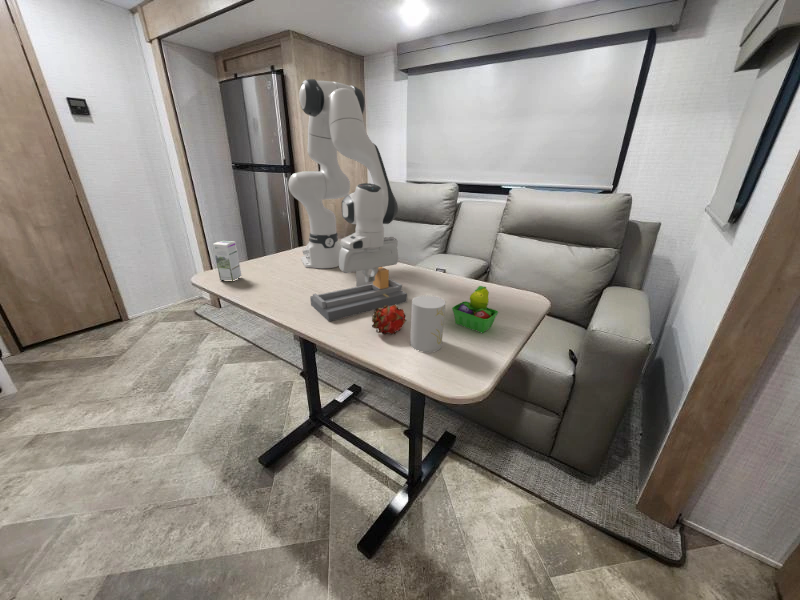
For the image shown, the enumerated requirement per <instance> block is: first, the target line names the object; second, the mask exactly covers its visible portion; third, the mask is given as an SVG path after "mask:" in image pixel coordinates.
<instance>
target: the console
mask: <svg viewBox="0 0 800 600" xmlns="http://www.w3.org/2000/svg"><path fill="white" fill-rule="evenodd" d="M372 285H373V284H368V285H363V286H358V287H356V286H353V287H350V288H344V289H338V290H333V291H329V292H324V293H318V294H317V293H313V294H312V295H311V296H310V306H311V307H312V308H313V309H315V311H316V312H318V313H319V314H320V315H321V316H322V317H323V318H324V319H325V320H326V321H328V322H333V321H336V320H340V319H344V318H349V317H352V316H356V315H360V314H364V313H365V314H366V313H368V312H371V311H372V312H373V311H375V310H376V308H383V306H386V305H388V306H389V307H390V306H393V305H396V306H397V305H400V304H403V303H407V300H408V299H407V298H408V294H407V292H405V291H403V284H401V283H399V282H397V281H395V280H394V279H391V278H389V287H390V288H387V289H382V290H378V291H375V290H374V289H372Z"/></svg>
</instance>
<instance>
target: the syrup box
mask: <svg viewBox="0 0 800 600" xmlns="http://www.w3.org/2000/svg"><path fill="white" fill-rule="evenodd" d="M212 248H213V251H214V252H213V253H214V257H215V263H216V267H217V271H218V276H219V281H220V280H232V281H233V280H235V279H237V278H239V277H240V276H242V277H243V274H242V271H241V265H240V261H239V254H238V253H239V252H238V249H237V243H236V241H235V240H233V241H231V240H230V241H229V240H220V241H216V242H214V243H212Z"/></svg>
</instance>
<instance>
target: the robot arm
mask: <svg viewBox="0 0 800 600" xmlns="http://www.w3.org/2000/svg"><path fill="white" fill-rule="evenodd" d="M299 87H300V88H299V91H298V92H299V93H298V98H299V103H300V108H301V110H302V111H303V112H304V114H306V115H308V125H307V150H306V151H307V155H308V156H309V158H310V159H311V160H312V161H314V162H315V163H317V164H319V167H320V170H319V171H315V170H314V171H310V170H309V171H308V170H307V171H305V170H303V171H298V172H295V173H292V175H290V176H289V179H288V183H287V184H288V190H289V193H290V194H291V195H292V197H293V198H294V199H295V200H297V201H299V202H300V203H301V205H302V206H303V207H304V209H305V211H306V213H307V216H308V223H309V231H310V232H309V236H308V241H309V242H308V243H307V244H306V246H305V247H304V249H302V256H300V261H301V260H302V261H301V262H302V264H303V266H304V267H305V268H314V269H331V268H332V269H333V268H337V267H338V268H339V270H340V271H341V272H343V273H345V274H349V273H356V271H362V273H363V274H364V276H365V281H366V282H371V281H375V276H376V274H377V272H378V268H379V267H383V268H385V267H390V266H395V265H397V264H398V262H399V249H398V240H397V238H396V237H394V236H389V237H385V228H384V225H389V224H391V223H392V222H393V221H394V220H395V218H396V217H397V215H398V212H399V207H398V202H397V199H396V197H395V194H394V193H393V190H392V189H391V185H390V182H389V178H388V174H387V171H386V168H385V165H384V162H383V159H382V155H381V152H380V150H379V148H378V146H377V145H376V144H375V143H374V142H373V141H372V140H371V139H370V137H369V135H368V133H367V130H366V127H365V123H364V117H363V114H364V111H365V107H366V105H365V103H366V101H365V95H364V92H363V91H362V90H361V89H360V88H359V87H356V86H354V85H351V84H350V85H348V84H346V83H342V82H338V81H329V80H316V79H315V78H314V79H313V78H311V79H309V78H308V79H305V80H303V81H302V82H301V84H300V86H299ZM338 153H340V154H341V155H342V156H344V157H345V158H347V159H350V160H353V161H355V162H358V163H359V164H361V165H362V166H363V167H366V169H368V171H369V173H370V177H371V180H372V183H370V182H369V183H368V182H366V183H359V184H358V185H356V186H355V191H354V192H352V193H350V191H351V182H350V179H349V177H348V175H346V174H345V172H344V171H343V170H342V168H341V167H340V165H339V161H338ZM349 193H350V194H349ZM342 198H343V199H342ZM338 199H342V200H341V216H342V218H343V219H344V220H345V222H347V223H349V224H352V225H355V229H354V230H355V232H353V233H351V234H350V235H347V236H345V237H343V238H341V239H340V242H339V241H338V240H339V236H338V235H339V234H338V232H337V219H336V217H337V216H336V214H335V213H334V211H332V210H331V209H328V208H327V207H325V205H324V203H323V200H338ZM369 269H372V270H373V271H372V273H371V275H368V274H367V273H368V272H369Z"/></svg>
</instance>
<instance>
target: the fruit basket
mask: <svg viewBox="0 0 800 600" xmlns="http://www.w3.org/2000/svg"><path fill="white" fill-rule="evenodd" d="M489 292H490V291H489V290H488V289H487V286H484V285H479V286H478V287H476V289H475V290H474V292H472V293H471V294H470V295H469V301H466V300H465V301H462V302H460V303H458V304H456V305H454V306H452V308H451V309H452V312H453V316H454V321H455V324H456V325H458V324H459V325H458V326H461V327H464V326H465V327H464V328H468V329H470V330H472V329H473V331H475V330H477V332H478V331H479V332H478V333H481V332H482V333H481V334H484V333H485V332H487V331H488V330H489V329H490V327H492V326H493V323H494V322H495V320H496V319H495V318H496V317H497V316H498V314H499V311H498V310H496V309H493V308H490V307H488V305H489ZM486 330H487V331H486ZM484 331H485V332H484Z"/></svg>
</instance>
